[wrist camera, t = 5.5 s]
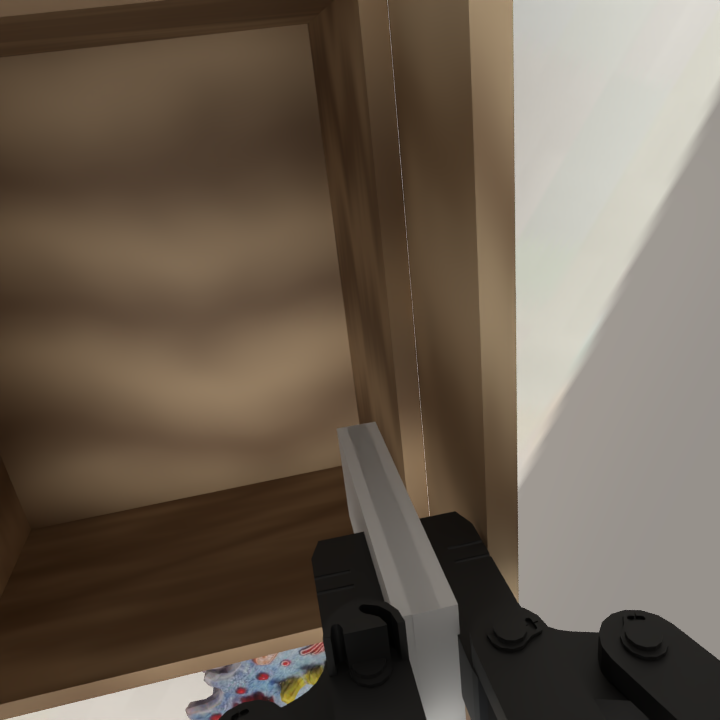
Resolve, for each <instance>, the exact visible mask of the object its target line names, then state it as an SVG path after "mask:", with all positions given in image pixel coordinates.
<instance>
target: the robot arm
mask: <svg viewBox="0 0 720 720" xmlns="http://www.w3.org/2000/svg"><path fill="white" fill-rule="evenodd" d="M337 434H338V441H339V448H340V455H341V462H342V469H343V476H344V483H345V489H346V496H347V503H348V510H349V517H350V520H351V524H352V528H353V531H354V534H350V535H345V536H340V537H335V538H331V539H326V540H321V541H318V543H317V545H316V548H315V551H314V553H313V556H312V558H311V561H312V567H313V574H314V580H315V586H316V592H317V599H318V605H319V611H320V617H321V624H322V630H323V644H324V650H325V655H326V663H325V666H324V670H323V672H322V674H321V676H320V677H319V679H318V681H317V682H316V683H315V684H314V685H313V686H312V687H311V688H310V690H309V691H307V692H306V693H304V694H303V695H302V696H300V697H299V698H297V699H295V700H294V701H292V702H290V703H288V704H287V705H285V706H283V707H280V706H279V705H277V704H276V703H274V702H270V701H264V700H254V701H248V702H243V703H241V704H239V705H237V706H235V707H233V708H231V709H230V710H228V711H226V712H225V713H224V714H223V715H222V716H221V717H220V718H219V719H218V720H466V712H465V705H466V708H467V711H468V713H469V716H470V718H471V720H720V660H718V659H717V658H716V657H715V656H713V655H712V654H711V653H709V652H708V651H707V650H705V649H704V648H703V647H701V646H700V645H699V644H698V643H697V642H695V641H694V640H692V639H691V638H690V637H689V636H688V635H686V634H685V633H684V632H682V631H681V630H680V629H678V628H677V627H676V626H675V625H673V624H672V623H670V622H668V621H667V620H665V619H663V618H662V617H660V616H658V615H655V614H652V613H648V612H645V611H641V610H624V611H620V612H617V613H613V614H611V615H610V616H609V617H607V618H606V619H605V620H604V621H603V622H602V625H601V628H600V631H599V633H595V632H572V631H571V632H570V631H563V630H557V629H554V628H550V627H548V626H547V625H546V624H545V623H544V622H543V621H542V620H541V618H540V617H539V616H538V615H536V614H534V613H532V612H531V611H529V610H527V609H525V608H521V606H520V605H519V603H518V602H517V600H516V598H515V596H514V595H513V593H512V591H511V589H510V588H509V586H508V584H507V583H506V581H505V579H504V577H503V576H502V574H501V572H500V570H499V569H498V567H497V565H496V564H495V562H494V560H493V558H492V557H491V556H490V554H489V551H488V550H487V548H486V546H485V544H484V543H482V539H481V538H480V536H479V534H478V532H477V531H476V529H475V527H474V525H473V524H472V523H471V522H470V521H468V520H467V519H465V518H464V517H463V516H461V515H460V514H458V513H457V512H456V511H453V512H448V513H444V514H439V515H434V516H429V517H425V518H420V519H419V517H418V515H417V513H416V510H415V508H414V506H413V504H412V502H411V499H410V497H409V495H408V493H407V490H406V488H405V486H404V484H403V482H402V479H401V477H400V475H399V473H398V471H397V468H396V466H395V464H394V462H393V459H392V457H391V455H390V453H389V451H388V448H387V446H386V444H385V442H384V440H383V437H382V435H381V433H380V431H379V429H378V426H377V424H376V422H370V423H364V424H359V425H353V426H348V427H343V428H337Z"/></svg>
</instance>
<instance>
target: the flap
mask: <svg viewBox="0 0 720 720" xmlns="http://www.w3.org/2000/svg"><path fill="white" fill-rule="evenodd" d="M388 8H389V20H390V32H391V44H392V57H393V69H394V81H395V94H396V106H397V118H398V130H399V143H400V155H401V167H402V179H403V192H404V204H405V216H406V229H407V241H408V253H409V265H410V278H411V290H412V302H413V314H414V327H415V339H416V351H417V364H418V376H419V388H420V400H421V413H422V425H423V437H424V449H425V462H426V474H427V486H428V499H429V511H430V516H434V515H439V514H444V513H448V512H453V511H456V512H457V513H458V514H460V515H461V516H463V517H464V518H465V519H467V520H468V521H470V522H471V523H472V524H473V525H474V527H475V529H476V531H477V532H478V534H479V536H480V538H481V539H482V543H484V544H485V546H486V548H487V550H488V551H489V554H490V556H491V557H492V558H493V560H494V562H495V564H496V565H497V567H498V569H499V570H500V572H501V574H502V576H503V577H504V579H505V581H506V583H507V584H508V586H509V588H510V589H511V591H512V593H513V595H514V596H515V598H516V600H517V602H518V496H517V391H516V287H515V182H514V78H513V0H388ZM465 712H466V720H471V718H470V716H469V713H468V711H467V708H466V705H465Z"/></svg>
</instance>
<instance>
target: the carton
mask: <svg viewBox="0 0 720 720" xmlns="http://www.w3.org/2000/svg"><path fill="white" fill-rule="evenodd" d="M370 422H376V424H377V426H378V429H379V431H380V433H381V435H382V437H383V440H384V442H385V444H386V446H387V448H388V451H389V453H390V455H391V457H392V459H393V462H394V464H395V466H396V468H397V471H398V473H399V475H400V477H401V479H402V482H403V484H404V486H405V488H406V490H407V493H408V495H409V497H410V499H411V502H412V504H413V506H414V508H415V510H416V513H417V515H418V517H419V519H420V518H425V517H429V506H428V494H427V482H426V470H425V458H424V445H423V433H422V421H421V409H420V397H419V384H418V372H417V360H416V348H415V336H414V323H413V311H412V299H411V287H410V275H409V262H408V250H407V238H406V226H405V214H404V201H403V189H402V177H401V165H400V153H399V140H398V128H397V116H396V104H395V92H394V80H393V67H392V55H391V43H390V31H389V19H388V6H387V0H0V720H4V719H8V718H12V717H16V716H20V715H24V714H28V713H32V712H37V711H41V710H45V709H49V708H53V707H57V706H61V705H65V704H69V703H74V702H78V701H82V700H86V699H90V698H94V697H98V696H102V695H106V694H111V693H115V692H119V691H123V690H127V689H131V688H135V687H139V686H143V685H148V684H152V683H156V682H160V681H164V680H168V679H172V678H176V677H180V676H185V675H189V674H193V673H197V672H201V671H205V670H209V669H213V668H217V667H222V666H226V665H230V664H234V663H238V662H242V661H246V660H250V659H254V658H259V657H263V656H267V655H271V654H275V653H279V652H283V651H287V650H291V649H296V648H300V647H304V646H308V645H312V644H316V643H320V642H323V630H322V624H321V617H320V611H319V605H318V599H317V592H316V586H315V580H314V574H313V567H312V561H311V558H312V556H313V553H314V551H315V548H316V545H317V543H318V541H321V540H326V539H331V538H335V537H340V536H345V535H350V534H354V531H353V528H352V524H351V520H350V517H349V510H348V503H347V496H346V489H345V483H344V476H343V469H342V462H341V455H340V448H339V441H338V434H337V428H343V427H348V426H353V425H359V424H364V423H370Z"/></svg>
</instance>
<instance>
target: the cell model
mask: <svg viewBox="0 0 720 720" xmlns="http://www.w3.org/2000/svg"><path fill="white" fill-rule="evenodd" d="M325 663H326V655H325V650H324V644H323V642H320V643H316V644H312V645H308V646H304V647H300V648H296V649H291V650H287V651H283V652H279V653H275V654H271V655H267V656H263V657H259V658H254V659H250V660H246V661H242V662H238V663H234V664H230V665H226V666H222V667H217V668H213V669H209V670H205V671H202V672H204V673H205V676H204V681H205V682H206V683H207V684H208V685H209V686H212V687H213V695H211V696H210V697H208V698H207V699H204V700H199V701H194V702H191V703H190V704H189V705H188V707H187V708H186V713H187V716H188V717H189V718H190V720H218V719H219V718H220V717H221V716H222V715H223V714H224V713H225V712H226V711H228V710H230V709H231V708H233V707H235V706H237V705H239V704H241V703H243V702H248V701H254V700H264V701H270V702H274V703H276V704H277V705H279V706H280V707H283V706H285V705H287V704H288V703H290V702H292V701H294V700H295V699H297V698H299V697H300V696H302V695H303V694H304V693H306V692H307V691H309V690H310V688H311V687H312V686H313V685H314V684H315V683H316V682H317V681H318V679H319V677H320V676H321V674H322V672H323V670H324V666H325Z"/></svg>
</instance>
